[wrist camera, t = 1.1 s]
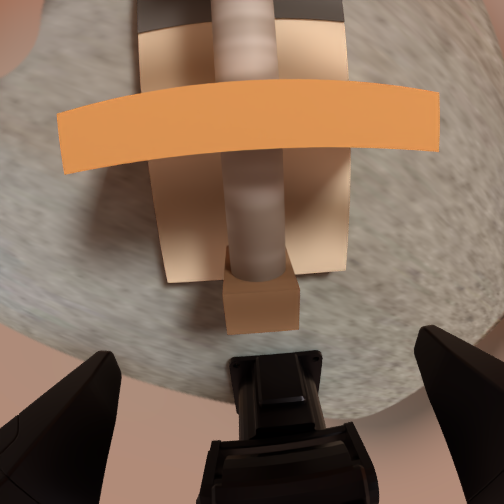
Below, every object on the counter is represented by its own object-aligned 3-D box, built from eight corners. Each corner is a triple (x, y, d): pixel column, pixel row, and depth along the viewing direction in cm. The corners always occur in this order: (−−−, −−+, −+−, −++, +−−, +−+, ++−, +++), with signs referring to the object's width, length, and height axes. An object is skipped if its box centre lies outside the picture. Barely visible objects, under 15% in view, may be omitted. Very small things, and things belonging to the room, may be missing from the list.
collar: (371, 135, 14) (438, 151, 9) (124, 151, 14) (64, 174, 8) (370, 96, 13) (439, 92, 8) (120, 111, 13) (56, 113, 8)
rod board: (339, 261, 18) (375, 320, 13) (171, 272, 18) (148, 337, 13) (324, -62, 10) (355, -115, 5) (145, -52, 10) (112, -103, 5)
